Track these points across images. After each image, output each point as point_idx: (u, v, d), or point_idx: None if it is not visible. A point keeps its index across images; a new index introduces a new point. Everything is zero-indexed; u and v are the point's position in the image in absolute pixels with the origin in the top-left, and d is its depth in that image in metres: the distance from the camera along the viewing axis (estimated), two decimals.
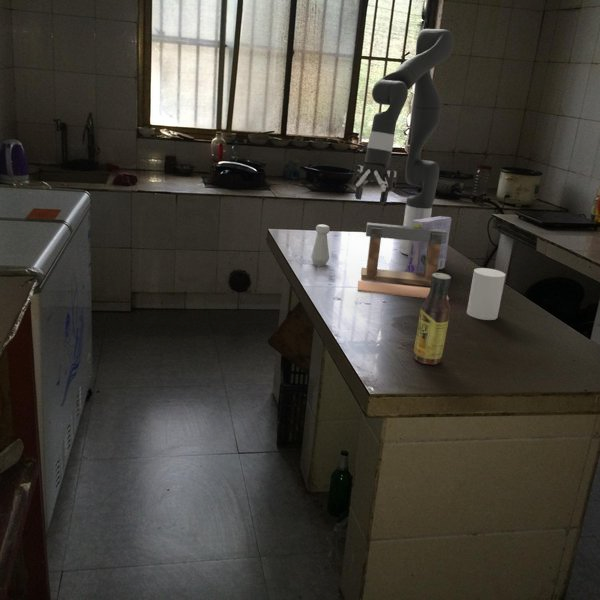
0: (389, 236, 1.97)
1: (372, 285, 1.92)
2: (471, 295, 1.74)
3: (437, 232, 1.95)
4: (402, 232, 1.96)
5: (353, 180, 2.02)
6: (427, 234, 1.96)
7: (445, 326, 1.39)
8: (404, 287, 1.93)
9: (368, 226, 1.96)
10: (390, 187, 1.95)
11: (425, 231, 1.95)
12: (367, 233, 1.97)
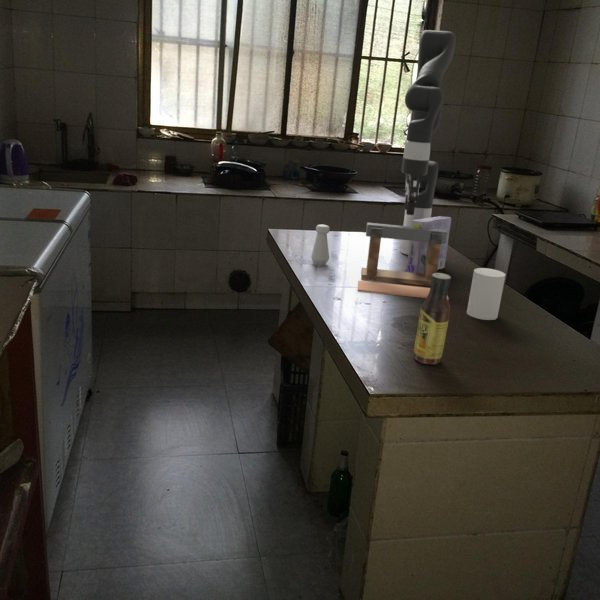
0: (389, 236, 1.97)
1: (372, 285, 1.92)
2: (471, 295, 1.74)
3: (437, 232, 1.95)
4: (402, 232, 1.96)
5: None
6: (427, 234, 1.96)
7: (445, 326, 1.39)
8: (404, 287, 1.93)
9: (368, 226, 1.96)
10: (408, 197, 1.88)
11: (425, 231, 1.95)
12: (367, 233, 1.97)
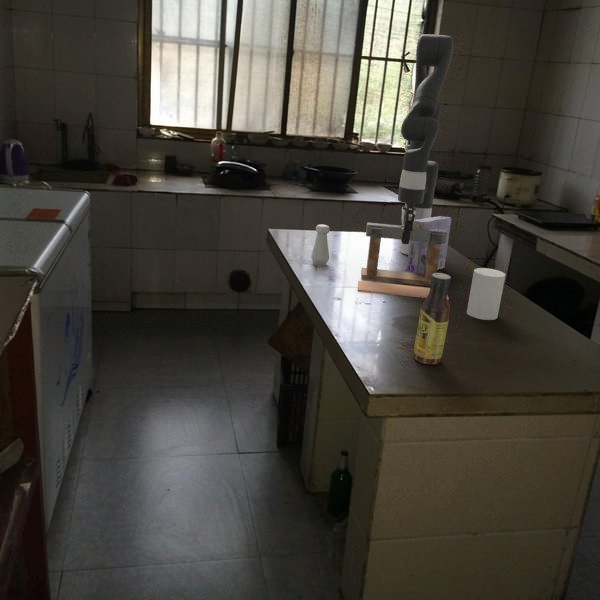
0: (389, 236, 1.97)
1: (372, 285, 1.92)
2: (471, 295, 1.74)
3: (437, 232, 1.95)
4: (402, 232, 1.96)
5: None
6: (427, 234, 1.96)
7: (445, 326, 1.39)
8: (404, 287, 1.93)
9: (368, 226, 1.96)
10: (403, 228, 1.93)
11: (425, 231, 1.95)
12: (367, 233, 1.97)
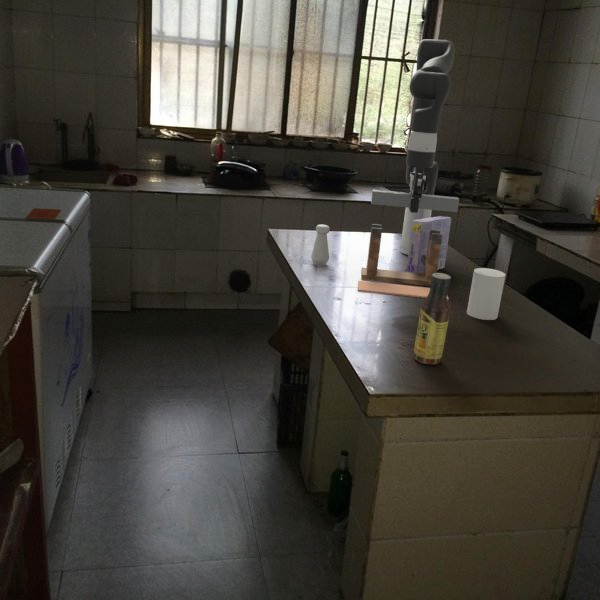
0: (396, 204, 1.82)
1: (372, 285, 1.92)
2: (471, 295, 1.74)
3: (448, 199, 1.80)
4: (410, 200, 1.81)
5: (410, 189, 1.86)
6: (438, 202, 1.80)
7: (445, 326, 1.39)
8: (404, 287, 1.93)
9: (373, 193, 1.81)
10: (412, 195, 1.78)
11: (435, 198, 1.80)
12: (372, 201, 1.82)
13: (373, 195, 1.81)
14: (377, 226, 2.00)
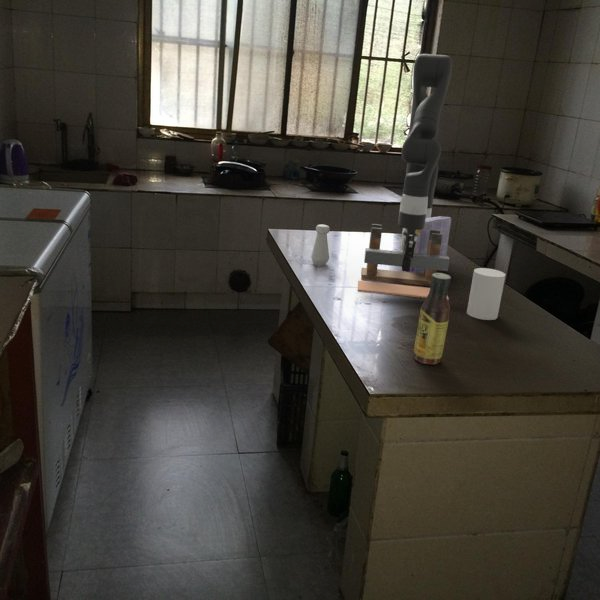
0: (389, 263, 1.87)
1: (372, 285, 1.92)
2: (471, 295, 1.74)
3: (439, 259, 1.85)
4: (402, 259, 1.86)
5: (402, 247, 1.91)
6: (429, 261, 1.86)
7: (445, 326, 1.39)
8: (404, 287, 1.93)
9: (366, 252, 1.87)
10: (404, 255, 1.83)
11: (426, 258, 1.86)
12: (365, 260, 1.87)
13: (366, 254, 1.87)
14: (377, 226, 2.00)
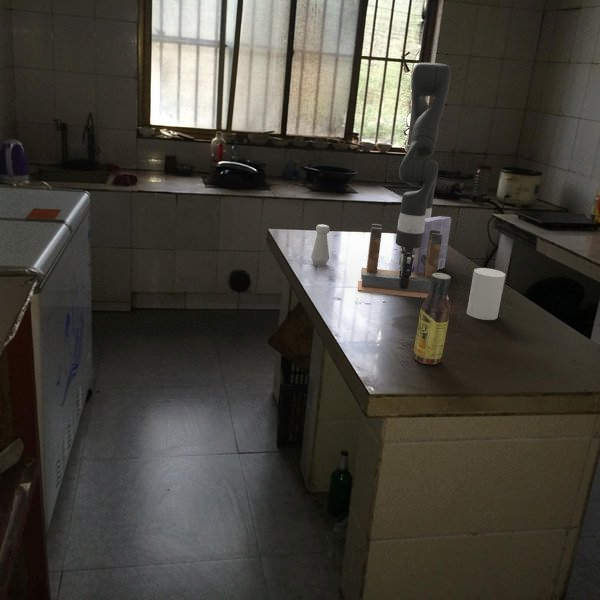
0: (385, 287, 1.89)
1: None
2: (471, 295, 1.74)
3: None
4: (399, 283, 1.89)
5: None
6: (425, 285, 1.88)
7: (445, 326, 1.39)
8: None
9: (364, 277, 1.89)
10: (402, 273, 1.83)
11: (423, 282, 1.88)
12: (363, 284, 1.90)
13: (363, 279, 1.89)
14: (377, 226, 2.00)
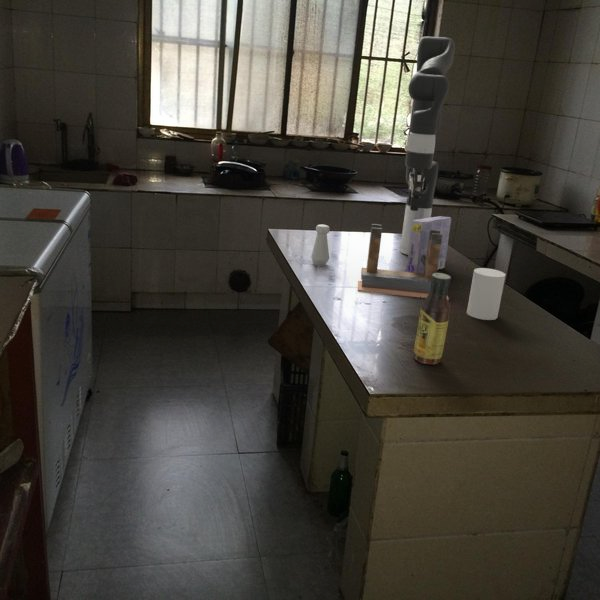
0: (385, 287, 1.89)
1: None
2: (471, 295, 1.74)
3: None
4: (399, 283, 1.89)
5: None
6: (425, 285, 1.88)
7: (445, 326, 1.39)
8: None
9: (364, 277, 1.89)
10: (412, 192, 1.78)
11: (423, 282, 1.88)
12: (363, 284, 1.90)
13: (363, 279, 1.89)
14: (377, 226, 2.00)
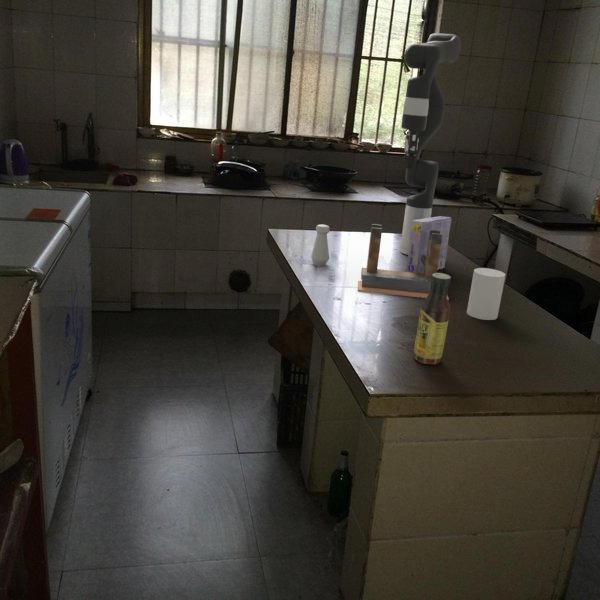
0: (385, 287, 1.89)
1: None
2: (471, 295, 1.74)
3: None
4: (399, 283, 1.89)
5: None
6: (425, 285, 1.88)
7: (445, 326, 1.39)
8: None
9: (364, 277, 1.89)
10: (408, 151, 1.96)
11: (423, 282, 1.88)
12: (363, 284, 1.90)
13: (363, 279, 1.89)
14: (377, 226, 2.00)
